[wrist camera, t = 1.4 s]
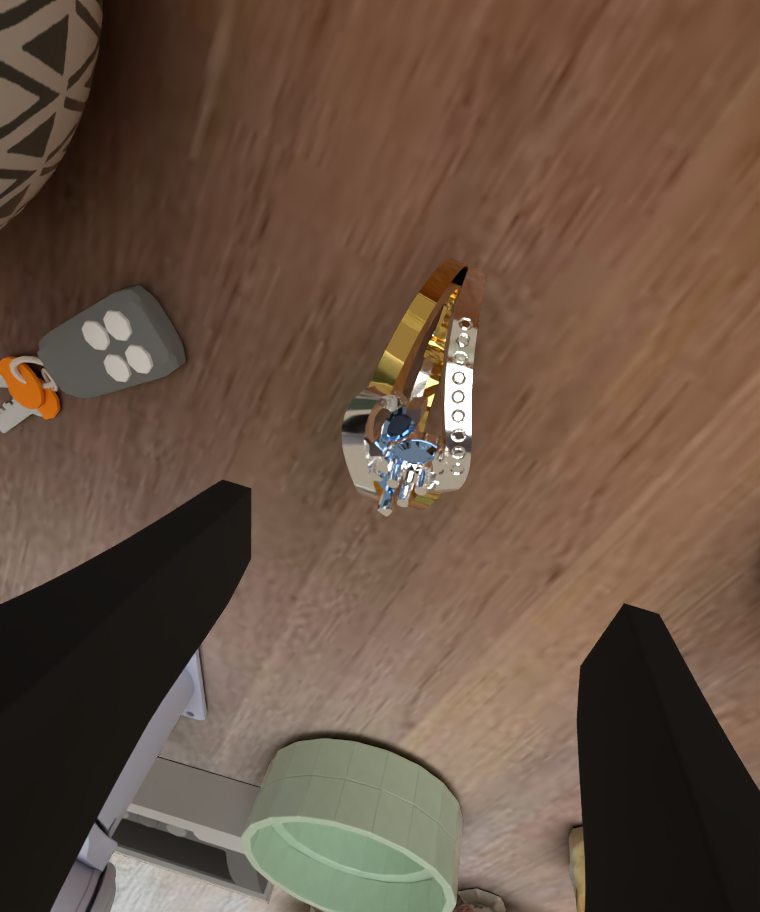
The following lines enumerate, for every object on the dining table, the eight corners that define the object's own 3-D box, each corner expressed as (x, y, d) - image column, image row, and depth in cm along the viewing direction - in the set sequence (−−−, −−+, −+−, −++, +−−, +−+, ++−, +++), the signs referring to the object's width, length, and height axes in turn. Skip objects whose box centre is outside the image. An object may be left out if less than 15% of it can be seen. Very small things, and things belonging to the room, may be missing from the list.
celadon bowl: (273, 807, 40) (245, 885, 36) (271, 709, 33) (236, 792, 29) (444, 859, 39) (435, 947, 35) (481, 767, 32) (475, 864, 27)
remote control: (144, 269, 20) (119, 279, 18) (198, 360, 21) (178, 375, 20) (-61, 371, 24) (-92, 384, 23) (-6, 439, 26) (-32, 454, 25)
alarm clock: (256, 842, 36) (255, 945, 44) (281, 776, 40) (276, 880, 48) (32, 772, 38) (69, 881, 46) (77, 715, 42) (104, 825, 50)
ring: (446, 438, 20) (412, 589, 14) (369, 407, 20) (298, 543, 14) (531, 263, 17) (540, 355, 10) (436, 224, 17) (381, 291, 10)
